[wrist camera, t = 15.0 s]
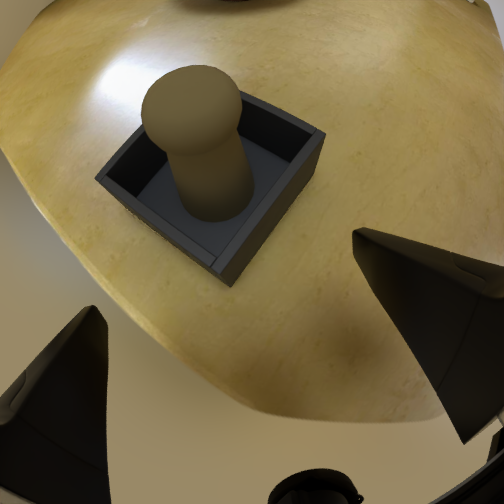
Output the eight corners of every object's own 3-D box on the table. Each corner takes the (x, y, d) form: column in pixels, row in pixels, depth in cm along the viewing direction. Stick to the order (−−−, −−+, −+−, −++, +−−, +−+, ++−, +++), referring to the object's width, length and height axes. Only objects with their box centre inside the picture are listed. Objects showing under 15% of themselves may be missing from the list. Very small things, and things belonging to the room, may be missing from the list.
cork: (240, 232, 21) (220, 145, 10) (167, 211, 22) (102, 127, 11) (264, 164, 22) (264, 56, 12) (196, 148, 23) (160, 48, 12)
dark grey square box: (314, 173, 23) (326, 133, 17) (230, 287, 21) (219, 275, 15) (207, 115, 25) (197, 73, 19) (125, 207, 23) (93, 178, 17)
